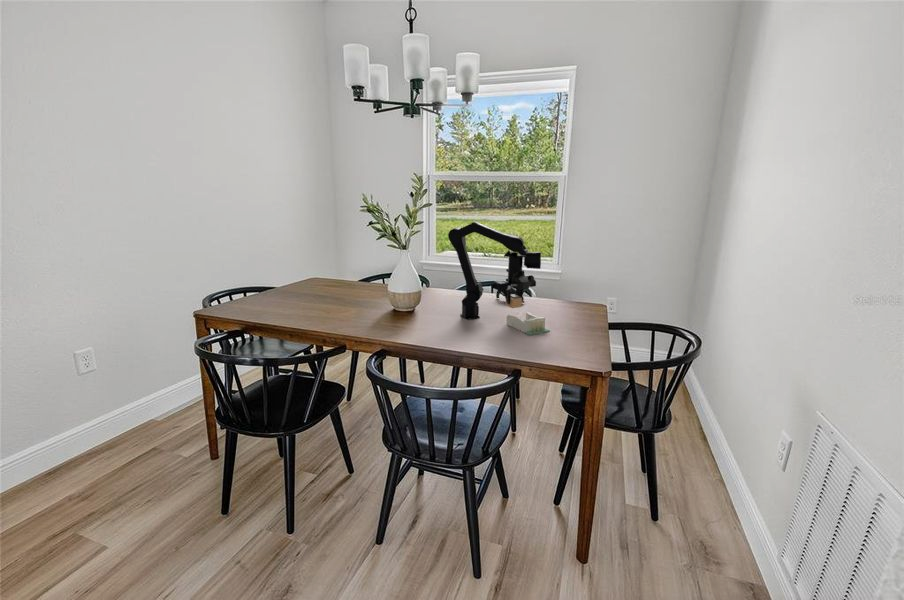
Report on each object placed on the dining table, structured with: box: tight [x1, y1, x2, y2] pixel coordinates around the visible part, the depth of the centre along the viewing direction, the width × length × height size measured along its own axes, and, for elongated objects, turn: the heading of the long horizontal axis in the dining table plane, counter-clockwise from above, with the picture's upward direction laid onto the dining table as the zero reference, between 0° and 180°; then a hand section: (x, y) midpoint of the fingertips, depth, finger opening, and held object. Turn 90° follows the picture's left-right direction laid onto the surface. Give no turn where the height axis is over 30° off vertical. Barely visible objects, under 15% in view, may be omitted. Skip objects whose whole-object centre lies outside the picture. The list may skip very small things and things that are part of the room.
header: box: [506, 311, 551, 336], centre depth 170 cm, size 11×15×5 cm
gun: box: [495, 286, 525, 304], centre depth 208 cm, size 3×16×10 cm, turn 53°
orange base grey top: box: [505, 294, 523, 309], centre depth 178 cm, size 4×5×5 cm
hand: (513, 303), depth 178 cm, fingers closed on orange base grey top, 4 cm apart
